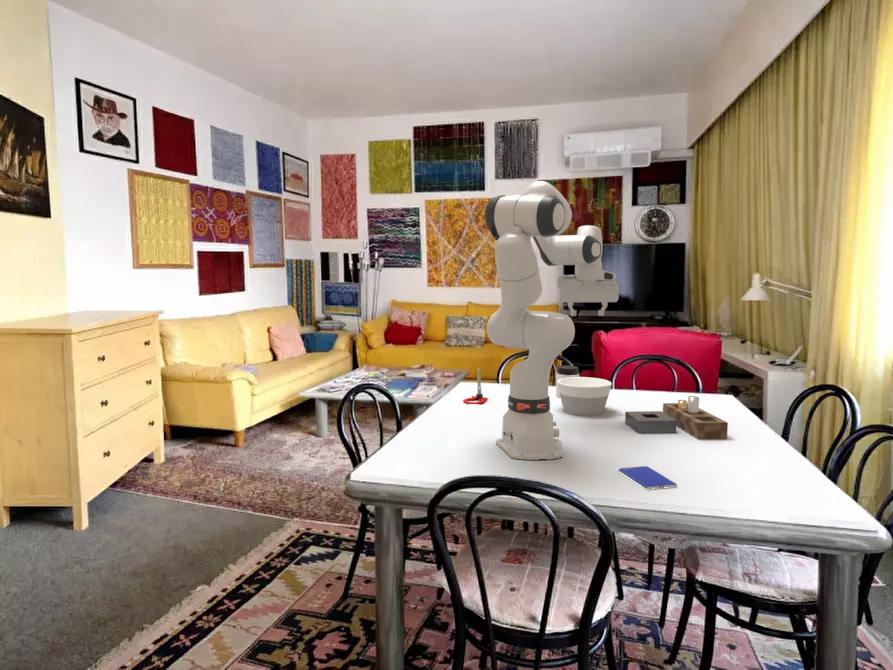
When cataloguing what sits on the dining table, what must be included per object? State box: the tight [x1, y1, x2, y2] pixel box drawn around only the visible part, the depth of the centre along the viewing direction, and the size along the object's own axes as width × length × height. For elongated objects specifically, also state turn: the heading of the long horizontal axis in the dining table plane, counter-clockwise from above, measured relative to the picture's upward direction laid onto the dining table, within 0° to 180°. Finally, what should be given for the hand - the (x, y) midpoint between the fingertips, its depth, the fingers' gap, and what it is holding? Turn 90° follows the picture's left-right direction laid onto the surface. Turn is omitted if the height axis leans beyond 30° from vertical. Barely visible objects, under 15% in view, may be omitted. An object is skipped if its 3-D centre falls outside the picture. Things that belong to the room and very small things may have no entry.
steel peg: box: [687, 395, 700, 414], centre depth 189 cm, size 3×3×10 cm
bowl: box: [557, 376, 613, 417], centre depth 212 cm, size 19×19×11 cm
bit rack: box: [662, 402, 729, 440], centre depth 190 cm, size 26×9×5 cm, turn 2°
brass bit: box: [677, 399, 688, 408], centre depth 197 cm, size 3×3×7 cm
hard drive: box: [618, 465, 678, 490], centre depth 143 cm, size 2×8×12 cm
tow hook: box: [462, 367, 489, 405], centre depth 226 cm, size 8×13×9 cm
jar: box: [555, 365, 580, 399], centre depth 236 cm, size 9×8×12 cm
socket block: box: [624, 410, 677, 434], centre depth 189 cm, size 12×12×4 cm
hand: (587, 315), depth 200 cm, fingers open, 8 cm apart
